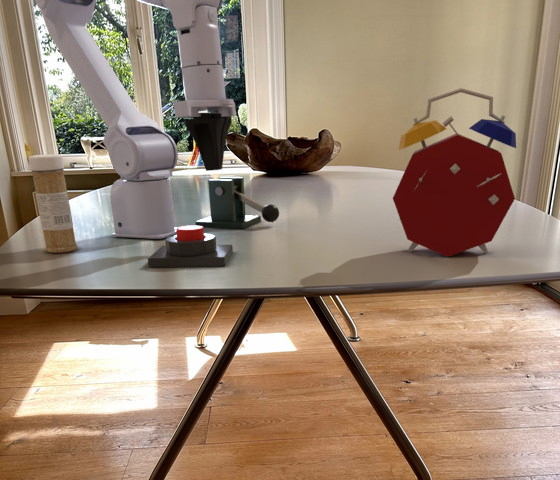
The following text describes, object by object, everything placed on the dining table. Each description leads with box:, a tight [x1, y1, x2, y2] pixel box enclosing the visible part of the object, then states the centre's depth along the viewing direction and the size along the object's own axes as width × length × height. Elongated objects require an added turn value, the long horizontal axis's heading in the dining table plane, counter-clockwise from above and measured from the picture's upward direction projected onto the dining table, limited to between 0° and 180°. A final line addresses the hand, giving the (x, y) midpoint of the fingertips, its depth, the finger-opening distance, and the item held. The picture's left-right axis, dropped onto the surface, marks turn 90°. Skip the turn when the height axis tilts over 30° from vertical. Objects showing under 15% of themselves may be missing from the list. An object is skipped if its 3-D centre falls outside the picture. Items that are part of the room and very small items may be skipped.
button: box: [175, 224, 205, 241], centre depth 79 cm, size 4×4×2 cm
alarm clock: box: [392, 87, 517, 258], centre depth 75 cm, size 15×9×20 cm, turn 76°
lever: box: [222, 179, 280, 223], centre depth 103 cm, size 12×3×3 cm, turn 68°
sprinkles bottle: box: [27, 153, 78, 254], centre depth 86 cm, size 5×5×14 cm
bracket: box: [195, 176, 262, 230], centre depth 105 cm, size 9×8×8 cm
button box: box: [147, 233, 234, 268], centre depth 80 cm, size 10×8×3 cm
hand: (214, 170), depth 88 cm, fingers closed
